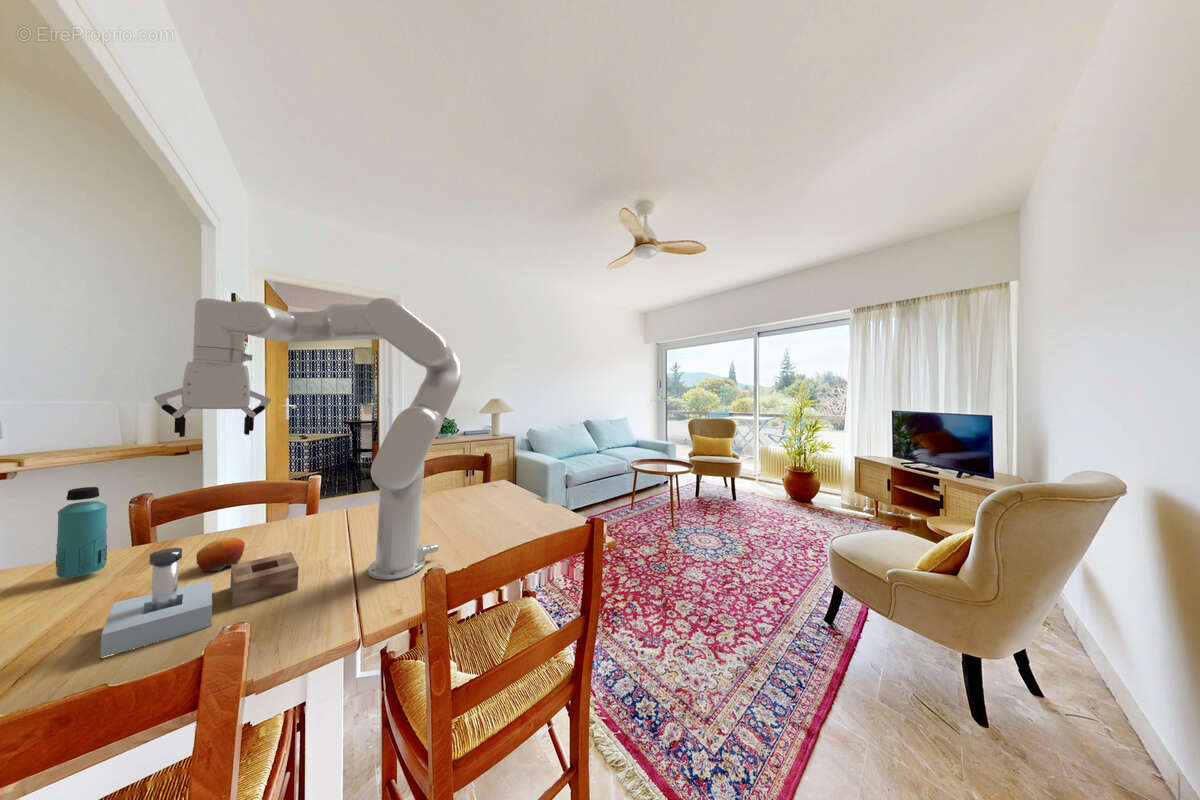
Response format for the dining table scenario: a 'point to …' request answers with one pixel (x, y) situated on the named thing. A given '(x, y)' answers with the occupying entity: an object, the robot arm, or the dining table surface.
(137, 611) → the dock
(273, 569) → the block
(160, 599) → the pin
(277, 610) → the dining table surface
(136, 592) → the dining table surface
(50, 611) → the dining table surface
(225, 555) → the fruit
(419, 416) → the robot arm
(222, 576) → the dining table surface
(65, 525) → the beverage bottle
